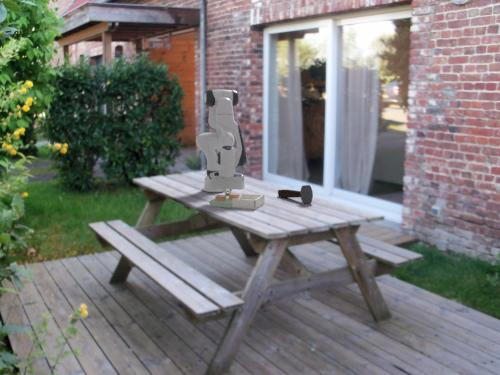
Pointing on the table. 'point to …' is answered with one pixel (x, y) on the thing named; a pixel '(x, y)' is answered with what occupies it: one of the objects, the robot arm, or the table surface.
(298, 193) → the hammer
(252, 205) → the tray
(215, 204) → the board
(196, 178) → the table surface
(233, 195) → the tile
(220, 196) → the tile
